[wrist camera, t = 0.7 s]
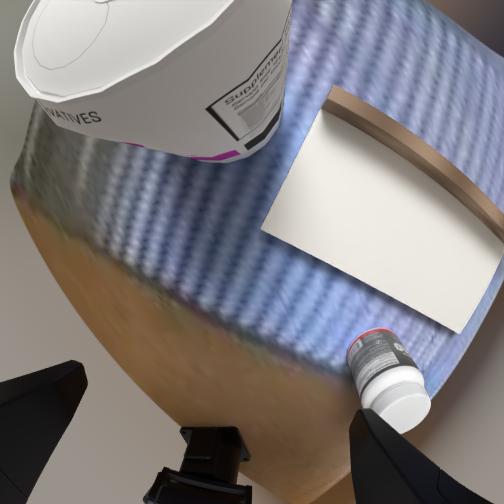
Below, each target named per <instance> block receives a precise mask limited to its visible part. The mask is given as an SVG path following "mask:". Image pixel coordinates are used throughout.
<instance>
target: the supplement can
mask: <svg viewBox="0 0 504 504" xmlns="http://www.w3.org/2000/svg"><path fill="white" fill-rule="evenodd" d="M291 12H292V0H33V2H32V4H31V6H30V7H29V9H28V11H27V13H26V15H25V17H24V19H23V21H22V23H21V27H20V30H19V34H18V37H17V41H16V45H15V49H14V59H15V70H16V78H17V79H18V81H19V82H20V83H21V85H22V86H23V87H24V89H25V90H26V91H27V93H28V94H29V95H30V96H31V97H35V98H36V100H37V101H38V103H39V104H40V105H41V107H42V108H43V109H44V110H45V112H46V113H47V114H48V115H49V116H50V118H51V119H52V120H53V121H54V122H55V124H56V125H57V126H60V127H63V128H66V129H69V130H72V131H75V132H78V133H80V134H83V135H86V136H89V137H94V138H100V139H105V140H110V141H116V142H121V143H126V144H131V145H135V146H140V147H145V148H149V149H154V150H158V151H162V152H167V153H171V154H175V155H179V156H183V157H187V158H191V159H195V160H199V161H203V162H206V163H230V162H233V161H237V160H240V159H243V158H247V157H249V156H251V155H252V154H253V153H255V152H256V151H258V150H259V149H260V148H262V147H263V146H265V145H266V144H267V142H268V141H269V140H270V138H271V137H272V135H273V134H274V133H275V131H276V130H277V128H278V126H279V123H280V119H281V115H282V111H283V106H284V95H285V84H286V73H287V61H288V50H289V38H290V25H291Z"/></svg>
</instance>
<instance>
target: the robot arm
mask: <svg viewBox="0 0 504 504" xmlns="http://www.w3.org/2000/svg"><path fill="white" fill-rule="evenodd" d="M87 385H88V381H87V377H86V373H85V369H84V366H83V364H82V363H80V362H78V361H75V360H70V361H67V362H64V363H61V364H58V365H55V366H52V367H49V368H45V369H42V370H39V371H36V372H33V373H30V374H26V375H23V376H20V377H17V378H13V379H10V380H6V381H3V382H0V504H26V502H27V500H28V498H29V496H30V494H31V492H32V490H33V488H34V486H35V484H36V482H37V480H38V478H39V477H40V475H41V473H42V471H43V469H44V467H45V465H46V463H47V462H48V460H49V458H50V456H51V454H52V453H53V451H54V449H55V447H56V446H57V444H58V442H59V440H60V439H61V437H62V435H63V434H64V432H65V430H66V428H67V427H68V425H69V424H70V422H71V420H72V418H73V416H74V414H75V412H76V409H77V407H78V405H79V403H80V401H81V399H82V396H83V395H84V393H85V390H86V388H87ZM180 433H181V435H182V437H183V438H184V440H185V441H186V443H187V448H186V451H185V454H184V459H183V461H182V465H181V467H180V470H179V472H178V471H175V470H171V469H169V468H167V467H164V468H163V470H162V472H158V475H157V477H156V480H155V482H154V484H153V486H152V487H151V488H150V489H149V491H148V492H147V493H146V494H145V496H144V498H143V502H144V503H145V504H252V486H249V485H247V486H243V485H237V484H236V483H237V476H238V470H239V464H240V462H247V461H250V455H249V453H248V450H247V448H246V446H245V444H244V441H243V439H242V437H241V435H240V432H239V430H238V428H236V427H182V428H181V429H180ZM349 438H350V459H351V473H352V480H353V486H354V493H355V499H356V504H493V503H491V502H490V501H488V500H486V499H484V498H483V497H481V496H479V495H478V494H476V493H474V492H473V491H471V490H469V489H468V488H466V487H465V486H463V485H462V484H460V483H458V482H457V481H456V480H455V479H453V478H452V477H451V476H449V475H448V474H447V473H446V472H445V471H443V470H442V469H440V467H438V466H437V465H436V464H435V463H434V462H432V461H431V460H430V459H429V458H427V457H426V456H425V455H424V454H423V453H421V452H420V451H419V450H418V449H417V448H416V447H415V446H413V445H412V444H411V443H410V442H409V441H408V440H406V439H405V438H404V437H403V436H402V435H401V434H400V433H398V432H397V431H396V430H395V429H394V428H393V427H392V426H390V425H389V424H388V423H387V422H386V421H385V420H384V419H383V418H381V417H380V416H379V415H378V414H377V413H376V412H375V411H374V410H372V409H371V408H360V409H358V410H357V412H356V414H355V416H354V418H353V420H352V423H351V425H350V428H349Z"/></svg>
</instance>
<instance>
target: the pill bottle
mask: <svg viewBox="0 0 504 504" xmlns="http://www.w3.org/2000/svg"><path fill="white" fill-rule="evenodd" d="M347 361H348V365H349V367H350V370H351V373H352V376H353V379H354V382H355V385H356V388H357V392H358V395H359V398H360V402H361V404H362V407H363V408H371V409H372V410H374V411H375V412H376V413H377V414H378V415H379V416H380V417H381V418H383V419H384V420H385V421H386V422H387V423H388V424H389V425H390V426H392V427H393V428H394V429H395V430H396V431H397V432H398V433H400V434H402V433H404V432H406V431H408V430H410V429H412V428H413V427H415V426H416V425H418V424H419V423H420V422H421V421H422V420H423V419H424V418H425V416H426V415H427V413H428V412H429V409H430V405H431V401H430V398H429V396H428V394H427V392H426V390H425V388H424V379H423V376H422V374H421V372H420V370H419V369H418V367H417V365H416V364H415V363H414V361H413V359H412V358H411V357H410V355H409V353H408V352H407V351H406V349H405V348H404V346H403V345H402V343H401V342H400V340H399V339H398V337H397V336H396V335H395V334H394V333H393V332H392V331H391V330H389V329H387V328H382V327H378V328H372V329H369V330H366V331H364V332H362V333H361V334H359V335H358V336H357V337H356V338H355V339H354V340H353V341H352V343H351V344H350V346H349V348H348V352H347Z"/></svg>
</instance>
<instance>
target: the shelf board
mask: <svg viewBox="0 0 504 504" xmlns="http://www.w3.org/2000/svg"><path fill="white" fill-rule="evenodd" d="M261 230H263V231H265V232H267V233H269V234H271V235H273V236H275V237H277V238H279V239H281V240H283V241H285V242H287V243H289V244H291V245H293V246H295V247H297V248H299V249H301V250H303V251H305V252H307V253H309V254H311V255H313V256H315V257H317V258H319V259H320V260H322V261H324V262H326V263H328V264H330V265H332V266H334V267H336V268H338V269H340V270H342V271H344V272H346V273H348V274H350V275H351V276H353V277H355V278H357V279H359V280H361V281H363V282H365V283H367V284H369V285H370V286H372V287H374V288H376V289H378V290H380V291H382V292H384V293H385V294H387V295H389V296H391V297H393V298H395V299H397V300H399V301H400V302H402V303H404V304H406V305H408V306H410V307H411V308H413V309H415V310H417V311H419V312H421V313H422V314H424V315H426V316H428V317H430V318H431V319H433V320H435V321H437V322H439V323H440V324H442V325H444V326H446V327H448V328H449V329H451V330H453V331H455V332H457V333H458V334H460V333H461V331H462V330H463V328H464V327H465V325H466V324H467V322H468V320H469V319H470V317H471V316H472V314H473V312H474V310H475V309H476V307H477V305H478V304H479V302H480V300H481V298H482V296H483V295H484V293H485V291H486V289H487V287H488V285H489V283H490V281H491V279H492V277H493V275H494V273H495V271H496V269H497V267H498V265H499V263H500V261H501V258H502V256H503V254H504V214H503V213H502V212H501V211H500V209H499V208H498V207H497V206H496V205H495V204H494V203H493V202H492V201H491V200H490V199H489V198H488V197H487V196H486V195H485V194H484V193H483V192H482V191H481V190H480V189H479V188H478V187H477V186H476V185H475V184H474V183H473V182H472V181H471V180H470V179H469V178H468V177H467V176H465V175H464V174H463V173H462V172H461V171H460V170H459V169H458V168H456V167H455V166H454V165H453V164H452V163H451V162H449V161H448V160H447V159H446V158H445V157H443V156H442V155H441V154H440V153H439V152H437V151H436V150H435V149H434V148H432V147H431V146H430V145H428V144H427V143H426V142H424V141H423V140H422V139H420V138H419V137H418V136H416V135H415V134H414V133H412V132H411V131H409V130H408V129H407V128H405V127H404V126H402V125H401V124H399V123H398V122H396V121H395V120H393V119H392V118H390V117H389V116H387V115H386V114H384V113H383V112H381V111H379V110H378V109H376V108H375V107H373V106H371V105H370V104H368V103H366V102H365V101H363V100H361V99H359V98H358V97H356V96H354V95H352V94H350V93H349V92H347V91H345V90H343V89H341V88H339V87H337V86H335V85H334V86H333V87H332V89H331V91H330V92H329V94H328V96H327V97H326V99H325V101H324V102H323V104H322V106H321V108H320V110H319V112H318V114H317V116H316V118H315V120H314V122H313V124H312V126H311V128H310V130H309V132H308V134H307V136H306V138H305V140H304V142H303V144H302V146H301V148H300V150H299V152H298V154H297V156H296V158H295V160H294V162H293V164H292V166H291V168H290V170H289V172H288V174H287V176H286V178H285V180H284V182H283V184H282V186H281V188H280V190H279V192H278V194H277V196H276V198H275V200H274V202H273V204H272V206H271V208H270V210H269V212H268V214H267V216H266V218H265V220H264V222H263V224H262V226H261Z"/></svg>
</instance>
